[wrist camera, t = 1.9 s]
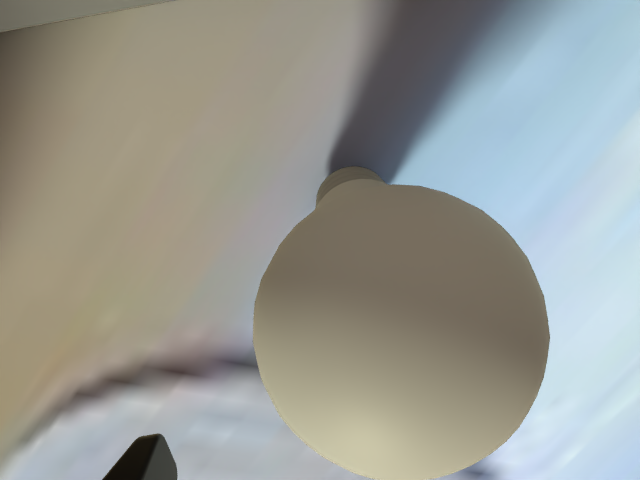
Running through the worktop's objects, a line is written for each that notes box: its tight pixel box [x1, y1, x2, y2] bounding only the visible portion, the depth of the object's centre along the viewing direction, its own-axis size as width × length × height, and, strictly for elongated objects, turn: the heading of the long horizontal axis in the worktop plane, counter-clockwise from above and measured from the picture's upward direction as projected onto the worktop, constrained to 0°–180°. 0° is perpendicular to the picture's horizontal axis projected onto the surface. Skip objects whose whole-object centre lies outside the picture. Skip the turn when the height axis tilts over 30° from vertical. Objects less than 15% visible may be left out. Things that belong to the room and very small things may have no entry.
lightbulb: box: [253, 166, 550, 480], centre depth 13 cm, size 6×6×11 cm
